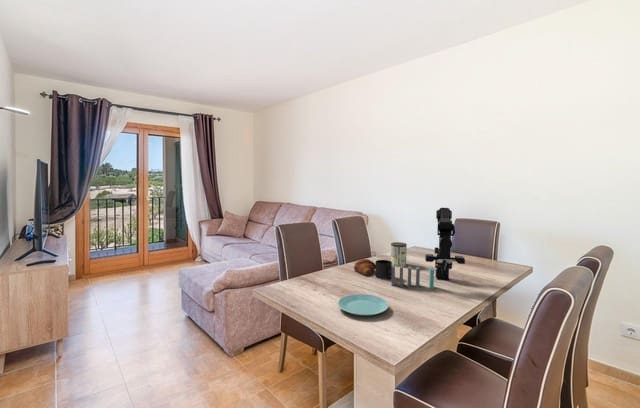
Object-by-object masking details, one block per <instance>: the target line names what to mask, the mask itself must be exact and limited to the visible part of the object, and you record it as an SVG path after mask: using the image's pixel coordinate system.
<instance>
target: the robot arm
mask: <svg viewBox="0 0 640 408" xmlns="http://www.w3.org/2000/svg"><path fill="white" fill-rule="evenodd" d="M452 211H453V210H451V209H450V208H449V207H440V208H439V209H437V210H436V212H435V213H436V215H435V219H437V236H439V237H438V238H439V239H438V247H437V246H436V247H434V254H436V256H435V255H434V254H433V253H432V254H430V253H426V254H425V255H424V259H425V260H424V261H425V262H427V263H428V262H429V263H433V262H434V268H435V273H434V277H435V278H436V280H440V281H441V280H443V281H450V270H452V268H453V265H454V263H453V262H456V263H457V264H458V265H465V264H466V258H465V257H464V256H463V255H455V256H454V257H453V256H452V257H451V255H452V254H451V253H452V252H451V251H452V249H451V248H452V247H453V241H452V237H455V235H456V226H455V224H454V223H453V221H452V217H453V212H452Z"/></svg>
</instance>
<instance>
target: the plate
mask: <svg viewBox="0 0 640 408" xmlns="http://www.w3.org/2000/svg"><path fill="white" fill-rule="evenodd" d="M389 305H390V304H389V302H388V301H387V300H386V299H384V298H383V297H380V296H377V295H373V294H369V293H353V294H347V295H344V296H342V297H340V298H339V299H338V300H337V306H338V308H339V309H341V310H342V311H344V312H346V313H349V314H351V315H354V316H358V317H370V316H375V315H379V314H382V313H384V312H385V311H387V309H388V308H389Z"/></svg>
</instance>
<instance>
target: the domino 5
mask: <svg viewBox="0 0 640 408" xmlns="http://www.w3.org/2000/svg"><path fill="white" fill-rule="evenodd" d="M434 280H435V269H434V267H429V280H428V281H429V284H428V286H429V289H430V290H434V286H435V285H434V282H435V281H434Z"/></svg>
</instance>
